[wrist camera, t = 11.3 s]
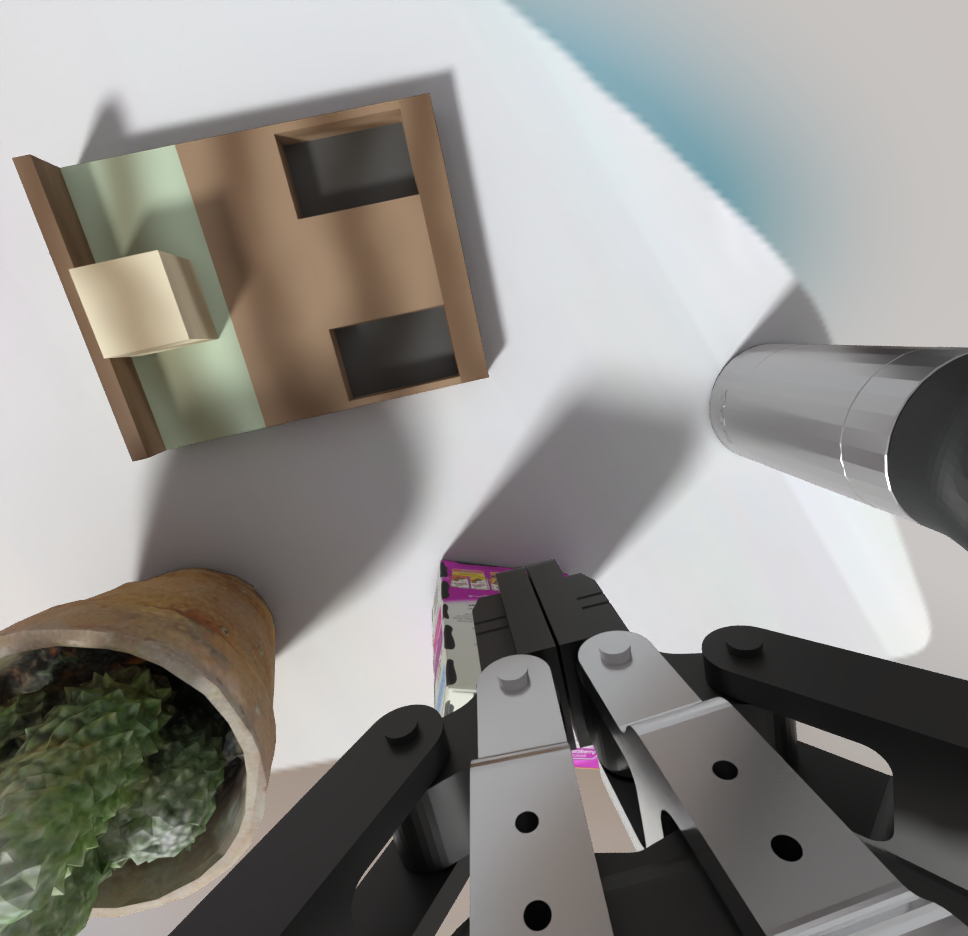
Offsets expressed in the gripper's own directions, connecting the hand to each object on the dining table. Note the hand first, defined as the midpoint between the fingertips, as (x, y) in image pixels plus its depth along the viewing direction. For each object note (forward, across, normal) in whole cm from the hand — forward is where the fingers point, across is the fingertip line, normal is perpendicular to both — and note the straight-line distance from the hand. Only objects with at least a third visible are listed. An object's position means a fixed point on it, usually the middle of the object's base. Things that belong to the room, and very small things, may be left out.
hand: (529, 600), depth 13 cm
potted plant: (+29, +24, +12) cm, 40 cm away
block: (+26, +17, -12) cm, 34 cm away
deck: (+29, +10, -12) cm, 33 cm away
